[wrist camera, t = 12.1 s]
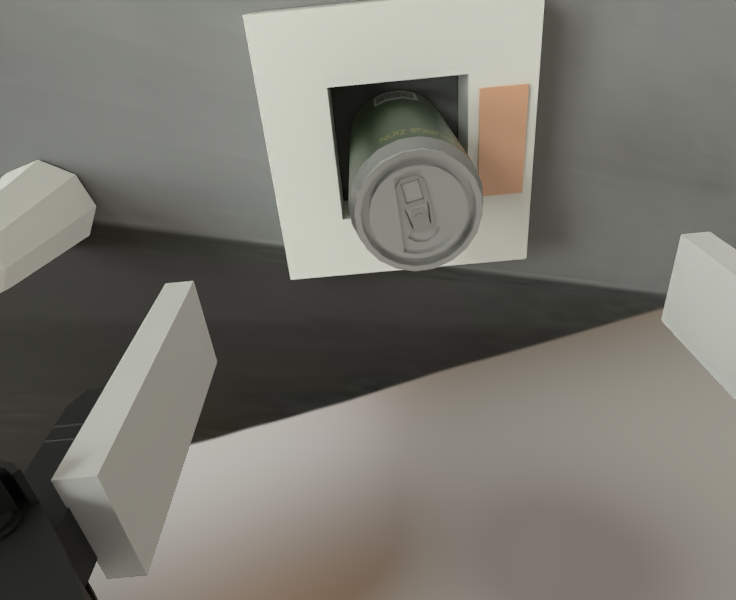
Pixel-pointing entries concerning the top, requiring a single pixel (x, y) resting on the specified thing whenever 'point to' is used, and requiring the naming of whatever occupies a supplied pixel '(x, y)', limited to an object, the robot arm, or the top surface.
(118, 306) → the top surface
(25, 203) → the salt shaker
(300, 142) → the socket block
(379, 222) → the beer can
